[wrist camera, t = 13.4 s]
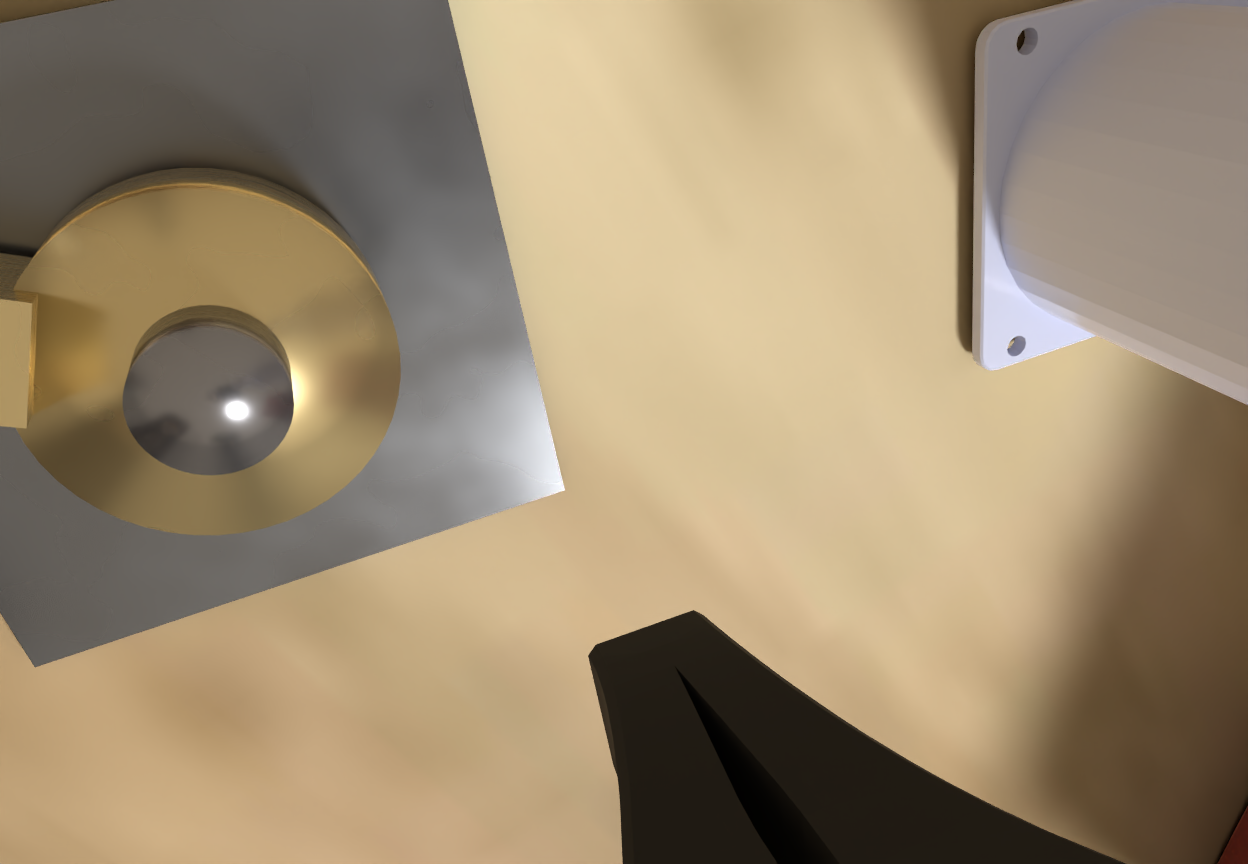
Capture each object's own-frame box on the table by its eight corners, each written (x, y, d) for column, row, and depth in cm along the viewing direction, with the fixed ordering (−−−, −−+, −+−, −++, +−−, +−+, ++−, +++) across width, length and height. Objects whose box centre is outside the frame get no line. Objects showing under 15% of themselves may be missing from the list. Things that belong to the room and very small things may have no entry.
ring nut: (-312, 64, 13) (-436, 91, 11) (414, 206, 17) (442, 249, 15) (-280, 455, 15) (-378, 550, 13) (360, 500, 20) (377, 580, 17)
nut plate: (429, -64, 16) (432, -64, 16) (560, 483, 22) (564, 490, 21) (-320, 87, 14) (-330, 90, 14) (37, 657, 19) (35, 667, 19)
